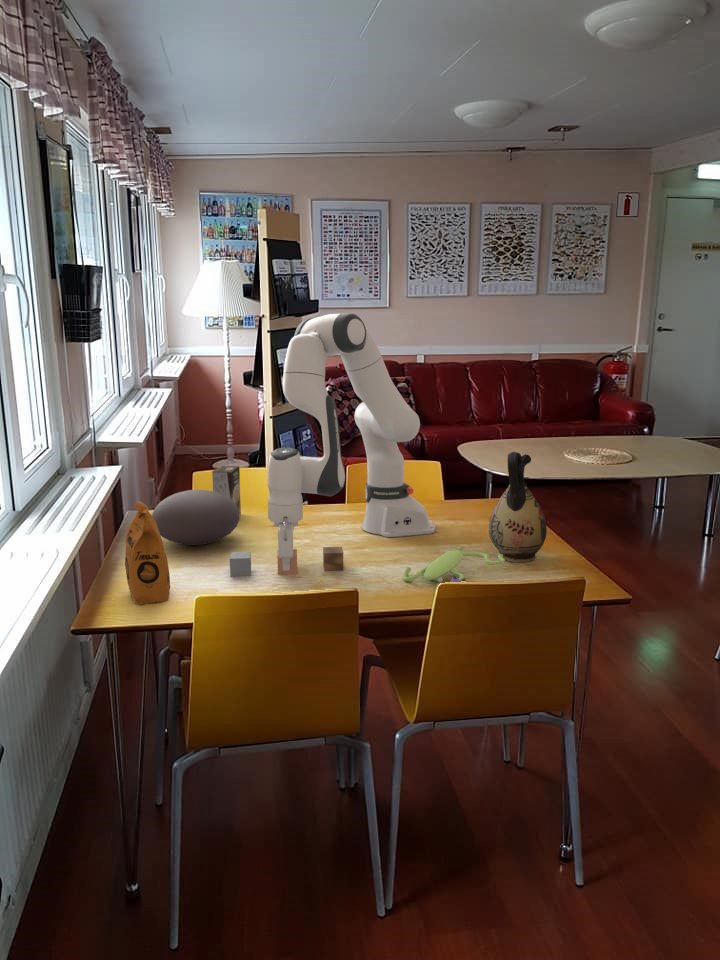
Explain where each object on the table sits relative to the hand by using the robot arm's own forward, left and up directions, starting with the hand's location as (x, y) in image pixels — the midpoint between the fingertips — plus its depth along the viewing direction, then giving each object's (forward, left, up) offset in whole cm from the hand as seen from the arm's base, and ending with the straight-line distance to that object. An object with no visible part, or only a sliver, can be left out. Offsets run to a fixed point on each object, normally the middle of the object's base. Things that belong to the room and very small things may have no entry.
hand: (286, 563), depth 198 cm
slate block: (+12, +1, -2) cm, 12 cm away
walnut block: (-12, -1, -2) cm, 13 cm away
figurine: (-43, +6, -3) cm, 44 cm away
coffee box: (+19, -50, -2) cm, 53 cm away
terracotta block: (0, 0, -2) cm, 2 cm away
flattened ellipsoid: (+26, -26, -2) cm, 37 cm away
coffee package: (+33, +14, -2) cm, 36 cm away
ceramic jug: (-62, -4, -2) cm, 62 cm away
